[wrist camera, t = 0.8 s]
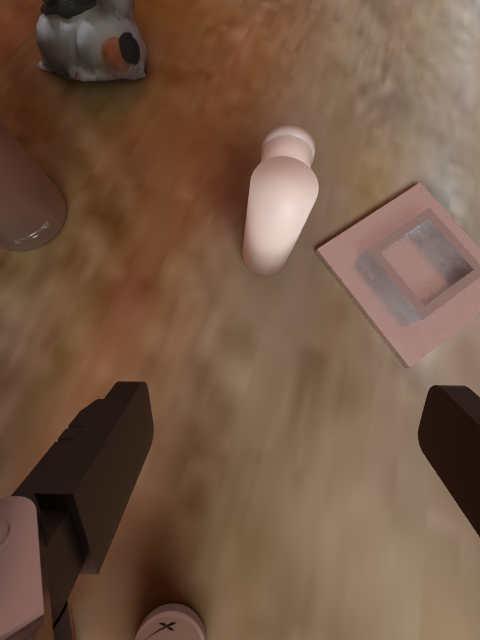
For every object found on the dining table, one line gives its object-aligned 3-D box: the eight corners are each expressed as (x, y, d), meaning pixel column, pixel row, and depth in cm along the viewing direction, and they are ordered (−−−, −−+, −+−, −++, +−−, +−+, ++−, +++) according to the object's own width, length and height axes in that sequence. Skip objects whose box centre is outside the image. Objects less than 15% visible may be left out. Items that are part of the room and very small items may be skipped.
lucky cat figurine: (24, 62, 39) (-35, -128, 28) (111, 62, 45) (90, -92, 35) (79, 98, 33) (30, -127, 22) (171, 93, 39) (166, -84, 29)
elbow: (283, 279, 34) (313, 222, 22) (238, 270, 34) (244, 209, 22) (294, 211, 36) (327, 125, 24) (252, 202, 36) (264, 113, 24)
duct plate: (314, 252, 35) (322, 240, 32) (416, 186, 37) (431, 170, 34) (405, 367, 32) (421, 366, 29) (507, 289, 35) (531, 280, 32)
